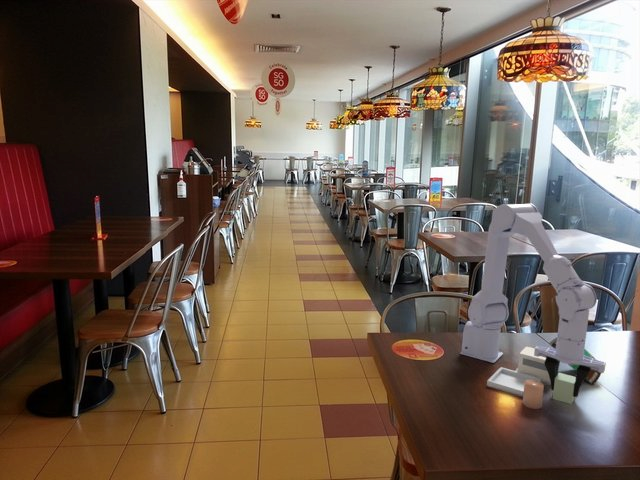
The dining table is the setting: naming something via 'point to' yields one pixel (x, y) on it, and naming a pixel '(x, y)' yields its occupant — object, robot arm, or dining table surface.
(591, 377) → the food container
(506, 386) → the tray
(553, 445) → the dining table surface
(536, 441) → the dining table surface
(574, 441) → the dining table surface
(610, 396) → the dining table surface
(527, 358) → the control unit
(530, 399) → the terracotta part
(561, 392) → the green part
